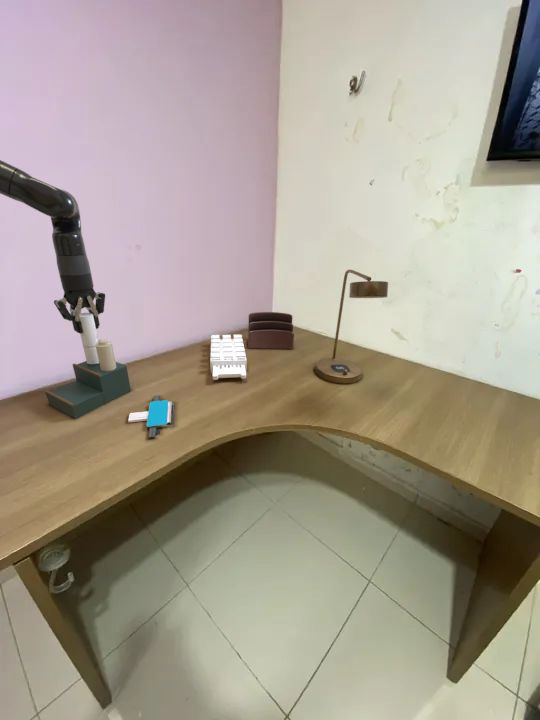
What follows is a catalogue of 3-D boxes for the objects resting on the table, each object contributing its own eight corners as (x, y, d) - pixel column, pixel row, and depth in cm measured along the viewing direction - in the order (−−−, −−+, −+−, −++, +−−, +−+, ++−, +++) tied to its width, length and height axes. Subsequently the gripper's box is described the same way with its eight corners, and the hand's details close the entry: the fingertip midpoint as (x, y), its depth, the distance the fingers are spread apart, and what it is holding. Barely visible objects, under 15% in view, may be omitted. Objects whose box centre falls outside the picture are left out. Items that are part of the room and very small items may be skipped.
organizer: (241, 334, 137) (248, 370, 105) (241, 344, 139) (248, 383, 107) (211, 334, 134) (209, 371, 103) (211, 345, 137) (210, 384, 105)
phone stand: (134, 399, 95) (133, 395, 94) (174, 396, 98) (174, 391, 97) (123, 442, 77) (122, 437, 77) (173, 436, 80) (172, 431, 80)
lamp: (332, 400, 100) (350, 280, 83) (310, 363, 124) (321, 265, 108) (381, 398, 102) (408, 281, 86) (351, 362, 126) (367, 266, 110)
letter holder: (248, 340, 144) (248, 310, 138) (290, 341, 145) (292, 312, 139) (247, 348, 135) (248, 317, 129) (293, 349, 136) (295, 318, 130)
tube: (104, 361, 96) (95, 315, 90) (89, 365, 94) (79, 317, 87) (99, 357, 99) (89, 311, 93) (84, 361, 96) (73, 314, 90)
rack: (49, 404, 91) (40, 375, 87) (105, 379, 105) (99, 354, 101) (75, 418, 85) (67, 388, 81) (130, 390, 100) (126, 364, 95)
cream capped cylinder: (97, 368, 93) (91, 341, 89) (110, 363, 97) (105, 336, 93) (106, 372, 91) (100, 344, 87) (119, 367, 95) (114, 339, 91)
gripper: (91, 267, 92) (102, 322, 99) (39, 273, 81) (55, 334, 88) (107, 270, 89) (117, 326, 96) (55, 276, 78) (71, 340, 85)
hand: (87, 330), depth 92 cm, fingers closed on tube, 4 cm apart
